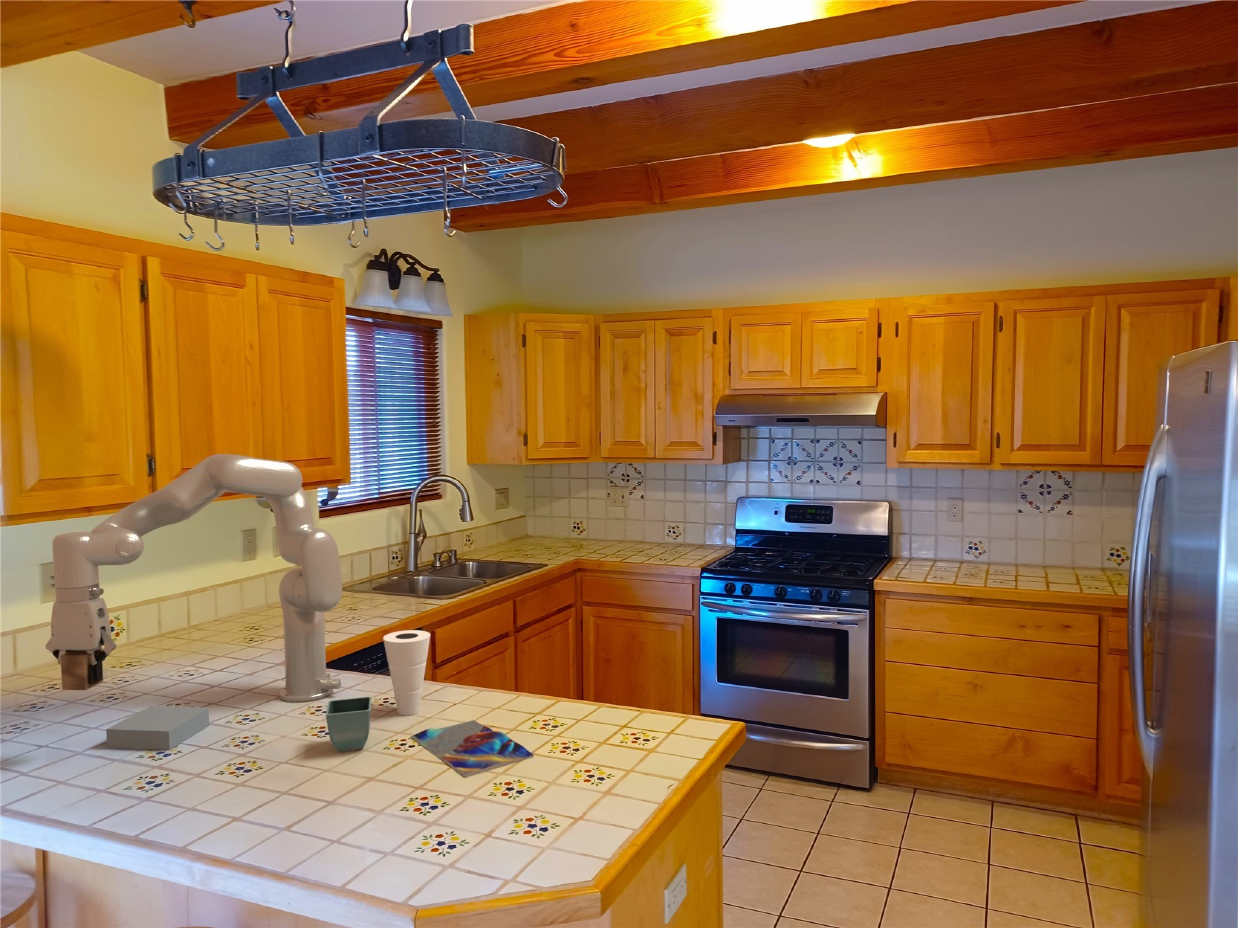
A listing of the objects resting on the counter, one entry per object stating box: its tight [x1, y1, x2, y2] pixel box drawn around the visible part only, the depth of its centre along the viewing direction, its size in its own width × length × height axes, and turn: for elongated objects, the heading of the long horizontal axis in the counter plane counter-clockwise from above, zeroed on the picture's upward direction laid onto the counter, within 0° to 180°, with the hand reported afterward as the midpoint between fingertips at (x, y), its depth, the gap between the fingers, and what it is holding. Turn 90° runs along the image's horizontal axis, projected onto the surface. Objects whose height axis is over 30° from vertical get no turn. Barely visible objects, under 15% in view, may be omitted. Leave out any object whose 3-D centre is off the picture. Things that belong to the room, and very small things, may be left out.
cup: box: [382, 629, 431, 716], centre depth 195 cm, size 11×11×18 cm
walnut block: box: [60, 651, 104, 691], centre depth 170 cm, size 5×5×7 cm
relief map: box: [410, 719, 534, 778], centre depth 175 cm, size 25×15×2 cm, turn 38°
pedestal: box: [106, 705, 210, 751], centre depth 182 cm, size 14×14×4 cm
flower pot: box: [325, 696, 372, 752], centre depth 175 cm, size 9×9×9 cm
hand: (82, 680), depth 170 cm, fingers closed on walnut block, 5 cm apart
